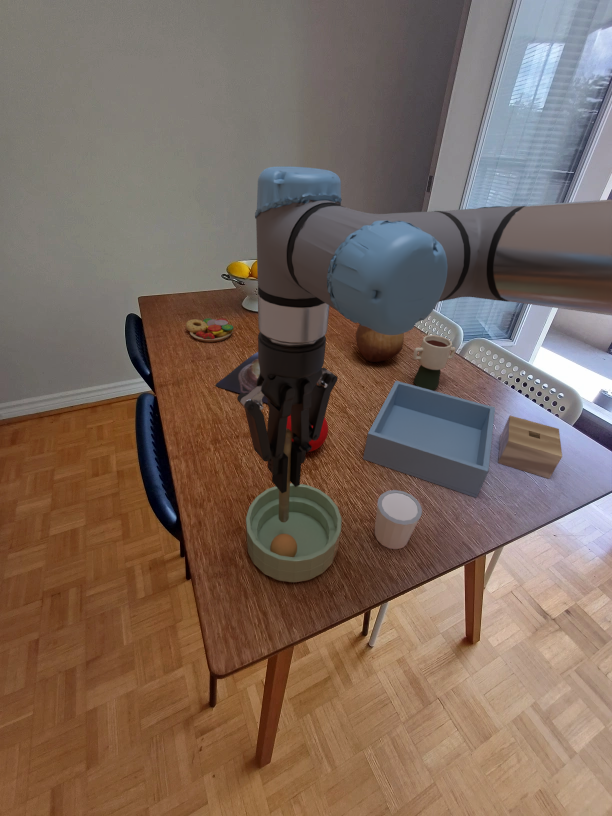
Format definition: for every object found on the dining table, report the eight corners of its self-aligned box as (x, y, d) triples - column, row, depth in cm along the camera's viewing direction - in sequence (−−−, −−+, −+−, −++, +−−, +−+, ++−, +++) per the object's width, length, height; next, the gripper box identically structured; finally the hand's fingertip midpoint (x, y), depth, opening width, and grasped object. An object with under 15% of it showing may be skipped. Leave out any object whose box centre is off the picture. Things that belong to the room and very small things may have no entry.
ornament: (283, 461, 78) (284, 421, 72) (282, 432, 85) (283, 393, 79) (328, 461, 79) (333, 421, 73) (323, 432, 86) (327, 394, 80)
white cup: (385, 558, 62) (394, 529, 58) (362, 524, 67) (369, 496, 63) (421, 544, 64) (431, 516, 60) (396, 512, 69) (404, 484, 65)
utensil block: (549, 479, 78) (562, 456, 75) (497, 463, 81) (508, 440, 78) (547, 450, 86) (559, 428, 82) (500, 436, 89) (509, 415, 85)
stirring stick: (285, 526, 61) (288, 434, 51) (276, 522, 62) (277, 430, 52) (290, 518, 62) (294, 428, 52) (281, 514, 63) (283, 424, 53)
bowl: (315, 601, 55) (319, 577, 52) (229, 560, 60) (227, 535, 56) (349, 526, 66) (354, 502, 63) (274, 496, 70) (274, 472, 67)
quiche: (258, 352, 114) (258, 339, 112) (322, 371, 107) (323, 358, 105) (213, 385, 98) (212, 371, 96) (284, 410, 92) (285, 396, 89)
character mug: (438, 378, 108) (451, 334, 101) (450, 392, 102) (465, 347, 95) (400, 379, 106) (411, 334, 99) (410, 394, 101) (422, 348, 93)
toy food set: (182, 330, 123) (181, 320, 121) (221, 321, 130) (220, 312, 128) (201, 347, 114) (200, 337, 112) (241, 337, 121) (241, 327, 119)
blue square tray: (476, 498, 73) (488, 471, 69) (362, 459, 80) (367, 433, 76) (485, 431, 90) (495, 407, 86) (390, 404, 96) (395, 380, 93)
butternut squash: (402, 371, 110) (423, 281, 95) (354, 368, 110) (367, 278, 95) (394, 348, 121) (412, 265, 107) (350, 345, 121) (362, 261, 106)
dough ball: (289, 572, 58) (290, 555, 56) (265, 561, 59) (265, 544, 57) (300, 550, 61) (302, 534, 59) (277, 540, 62) (278, 524, 60)
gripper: (324, 309, 50) (311, 450, 63) (215, 332, 42) (227, 486, 56) (364, 331, 45) (341, 479, 58) (250, 362, 37) (254, 523, 51)
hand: (285, 483), depth 57 cm, fingers closed on stirring stick, 1 cm apart
